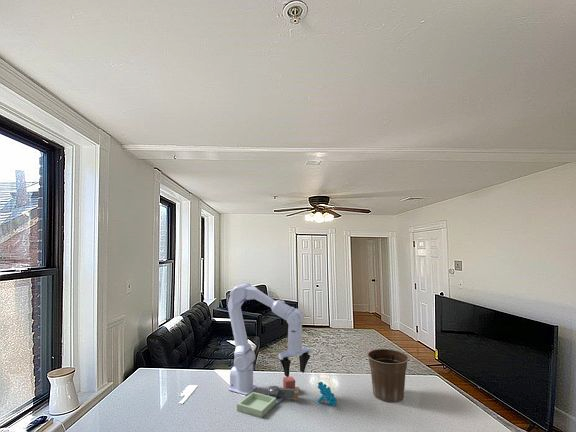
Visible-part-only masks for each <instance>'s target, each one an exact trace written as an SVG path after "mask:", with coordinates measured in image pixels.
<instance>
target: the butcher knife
mask: <svg viewBox="0 0 576 432" xmlns="http://www.w3.org/2000/svg"><path fill="white" fill-rule="evenodd" d="M198 387H199V386H198V385H195V384H193V385H192V384H190V385H189V384H188V385H187V386H186V387H185V389H183V391H182V392H183V393H182V392H181V393H180V394H181V395H180V394H179V395H180V396H181V398H182V399H181V400H180V401H179V402H178V405H184V404H183V403H185V402H186V401H187V400H188V399H189V398H190V396H191V395H193V394H194V392H195V390H197V388H198Z"/></svg>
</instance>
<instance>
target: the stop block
mask: <svg viewBox="0 0 576 432" xmlns="http://www.w3.org/2000/svg"><path fill="white" fill-rule="evenodd" d="M282 380H283V381H282V384H283V385H282V388H289V389H295V387H296V379H295V378H294V377H293V376H289V377H286V376H285V377H282Z"/></svg>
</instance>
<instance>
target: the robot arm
mask: <svg viewBox="0 0 576 432" xmlns="http://www.w3.org/2000/svg"><path fill="white" fill-rule="evenodd" d="M246 300H248V301H249V300H256V301H257V302H260V304H261V303H262V304H263V305H265V306H267V307H268V308H270V309H271V312H272V313H273V314H274V315H276V316H278V317H279V318H281V319H283V320H284V321H286V323H287V324H288V329H287V350H284V351H283V352H280V353H278V360H279V361H280V364H281V365H282V369H283V374H284V376H285V377H290V366H291V362H292V361H291V360H289V358H293V357H298V358H299V359H298V360H299V371H300V372H301V373H305V370H306V367H307V364H308V362H309V359H310V358H311V348H310V347H308V346H307V347H303V322H302V321H303V319H304V313H303V311H302V310H300V308H295V307H294V306H290V305H289V304H287V303H285V300H280V299H278V300H275V299H273V298H272V297H270V296H268V295H267V294H266V293H264V292H263V291H261V290H260V289H259V288H257V286H254V285H251V284H250V283H248V282H244V283H242V284H240V285H239V284H238V285H236V286H234V287H233V288H232V289H231V290H230V292H229V299H228V301H227V302H228V303H227V309H228V310H227V311H228V315H229V319H230V324H231V329H232V335H233V340H234V343H235V349H234V352H233V355H234V360H233V365H234V366H232V368H230V369H231V370H230V373H229V388H228V391H231V392H235V393H238V394H242V395H244V396H245V395H246V396H248V395H249V394H250V393H252V392H254V390H256V389H257V388H258V386H257V385H254V363H253V362H254V361H255V360H256V354H255V351H254V350H253V348H252V345H251V344H250V342H249V341H248V336H247V330H246V326H245V321H244V317H243V312H242V305H243V304H244V302H245V301H246Z"/></svg>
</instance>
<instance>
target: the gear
mask: <svg viewBox="0 0 576 432" xmlns="http://www.w3.org/2000/svg"><path fill="white" fill-rule="evenodd" d="M317 388H318V390H319V393H320V394H321V396H320V398H318V400H317V403H321V402H322V401H323V400H327V403H328V404H329V405H331V406H332V407H335V406H336V405H337V401H338V400H337V399H336V398H335V394H334V393H333V392H332V389H331V387H330V386H327V384H326V383H323V382H322V381H319V382H318V383H317Z"/></svg>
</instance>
